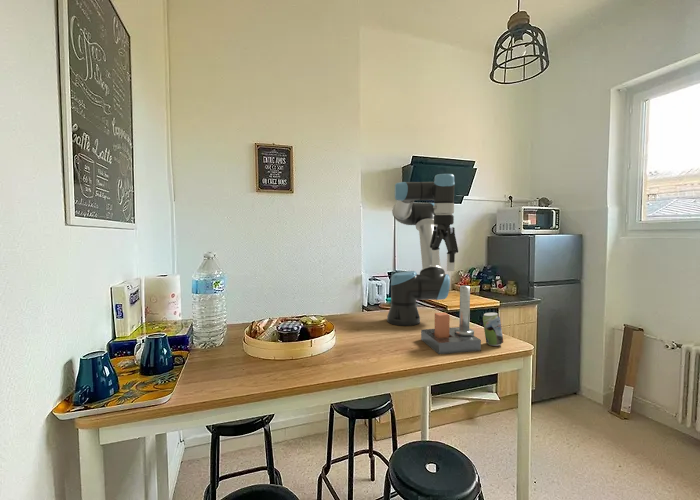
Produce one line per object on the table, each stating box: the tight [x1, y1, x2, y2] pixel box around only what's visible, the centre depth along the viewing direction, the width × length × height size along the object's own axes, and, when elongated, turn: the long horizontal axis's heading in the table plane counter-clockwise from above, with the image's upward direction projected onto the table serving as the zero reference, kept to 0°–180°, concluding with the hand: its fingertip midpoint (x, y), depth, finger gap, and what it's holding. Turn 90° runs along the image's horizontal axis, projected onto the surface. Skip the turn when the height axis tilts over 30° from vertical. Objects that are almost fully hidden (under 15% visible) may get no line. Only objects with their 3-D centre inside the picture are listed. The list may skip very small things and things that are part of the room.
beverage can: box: [482, 311, 504, 347], centre depth 131 cm, size 6×7×12 cm
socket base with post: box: [420, 285, 482, 355], centre depth 130 cm, size 16×18×22 cm
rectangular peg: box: [434, 312, 451, 338], centre depth 130 cm, size 4×4×12 cm
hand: (442, 268), depth 138 cm, fingers open, 13 cm apart
